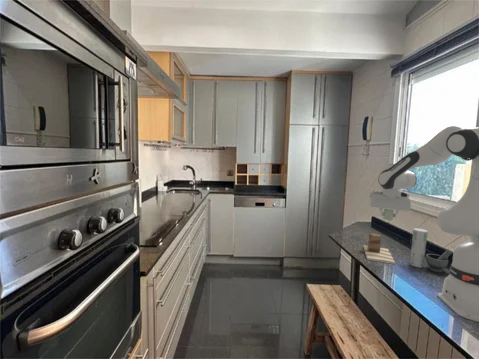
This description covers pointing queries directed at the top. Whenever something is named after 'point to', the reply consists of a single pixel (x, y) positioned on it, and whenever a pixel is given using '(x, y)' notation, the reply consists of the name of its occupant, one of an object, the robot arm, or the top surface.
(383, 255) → the board
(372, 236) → the top block
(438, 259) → the mortar and pestle
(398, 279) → the top surface
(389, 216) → the canister
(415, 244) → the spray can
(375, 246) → the base block
